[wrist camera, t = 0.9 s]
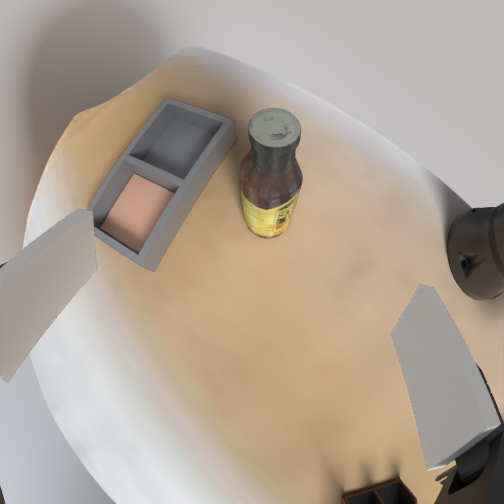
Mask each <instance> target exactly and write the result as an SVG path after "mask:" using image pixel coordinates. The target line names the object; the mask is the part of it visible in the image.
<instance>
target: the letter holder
mask: <svg viewBox="0 0 504 504" xmlns="http://www.w3.org/2000/svg"><path fill="white" fill-rule="evenodd" d="M342 504H417V499H416V497H415V496H414V495H413V494H412V492H411V491H410V490H409V489H408V487H407V486H406V485H405V484H404V483H403V482H402V480H401V479H400V478H398V479H396V480H393V481H390V482H387V483H384V484H381V485H378V486H375V487H372V488H369V489H365V490H362V491H358V492H355V493H351V494H347V495H344V496H342Z"/></svg>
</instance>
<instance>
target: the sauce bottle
mask: <svg viewBox="0 0 504 504" xmlns="http://www.w3.org/2000/svg"><path fill="white" fill-rule="evenodd" d="M248 134H249V135H248V136H249V141H250V143H251V151H250V152H249V153H248V154H247V155H246V156H245V158H244V159H243V161H242V163H241V168H240V188H241V196H242V205H243V213H244V219H245V222H246V224H247V227H248V228H249V230H250V231H251V232H253V233H254V234H255V235H257V236H259V237H261V238H274V237H277V236H279V235H280V234H281V233H283V231H284V230H285V229H286V228H287V227H288V226H289V224H290V221H291V218H292V215H293V212H294V209H295V205H296V202H297V199H298V195H299V192H300V189H301V185H302V180H303V177H302V172H301V170H300V167H299V165H298V163H297V160H296V158H295V150H296V147H297V146H298V144H299V142H300V135H301V126H300V124H299V121H298V120H297V118H296V117H295V116H294V115H292V114H291V113H290V112H288V111H285V110H283V109H278V108H268V109H265V110H261V111H259V112H257V113H256V114H255V115H254V116H253V117H252V118H251V120H250V122H249V125H248Z"/></svg>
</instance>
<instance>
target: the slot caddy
mask: <svg viewBox="0 0 504 504" xmlns="http://www.w3.org/2000/svg"><path fill="white" fill-rule="evenodd" d="M235 141H236V133H235V126H234V120H232V119H229V118H226V117H224V116H221V115H218V114H215V113H212V112H210V111H207V110H204V109H201V108H198V107H195V106H192V105H189V104H186V103H182V102H179V101H176V100H173V99H169V98H166V99H165V100H164V101H163V103H162V104H161V105H160V106H159V107H158V109H157V110H156V111H155V112H154V113H153V115H152V116H151V117H150V118H149V120H148V121H147V122H146V123H145V125H144V126H143V127H142V128H141V130H140V131H139V132H138V134H137V135H136V136H135V138H134V139H133V140H132V142H131V143H130V144H129V146H128V147H127V148H126V150H125V151H124V152H123V154H122V155H121V157H120V158H119V160H118V161H117V162H116V164H115V165H114V167H113V168H112V170H111V171H110V173H109V174H108V176H107V177H106V179H105V180H104V182H103V183H102V185H101V187H100V188H99V190H98V191H97V193H96V194H95V196H94V198H93V199H92V201H91V203H90V204H89V206H88V208H87V209H86V210H88V211H93V224H94V236H95V237H97V238H98V239H100V240H101V241H103V242H104V243H106V244H107V245H109V246H110V247H112V248H113V249H115V250H116V251H118V252H119V253H121V254H122V255H124V256H125V257H127V258H129V259H130V260H132V261H133V262H135V263H136V264H138V265H139V266H141V267H144V268H146V269H148V270H151V271H153V272H155V270H156V268H157V266H158V265H159V263H160V261H161V259H162V258H163V256H164V254H165V252H166V250H167V249H168V247H169V245H170V244H171V242H172V240H173V238H174V237H175V235H176V233H177V232H178V230H179V228H180V227H181V225H182V223H183V222H184V220H185V218H186V217H187V215H188V213H189V212H190V210H191V208H192V207H193V205H194V204H195V202H196V200H197V199H198V197H199V196H200V194H201V192H202V191H203V189H204V188H205V186H206V184H207V183H208V181H209V180H210V178H211V177H212V175H213V174H214V172H215V171H216V169H217V168H218V166H219V165H220V163H221V161H222V160H223V158H224V157H225V156H226V154H227V153H228V151H229V150H230V148H231V147H232V145H233V144H234V142H235Z"/></svg>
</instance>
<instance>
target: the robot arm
mask: <svg viewBox="0 0 504 504" xmlns="http://www.w3.org/2000/svg"><path fill="white" fill-rule="evenodd" d="M448 257H449V263H450V267H451V270H452V273H453V276H454V278H455V280H456V282H457V284H458V285H459V287H460V288H461V289H462V291H463V292H464V293H465V294H466V295H468V296H469V297H471V298H473V299H475V300H488V299H493V298H495V297H497V296H499V295H500V294H501V293H503V292H504V203H503V204H501V205H499V206H497V207H487V208H486V207H485V208H473V209H470V210H468V211H466V212H464V213H462V214H461V215H459V216H458V217H457V218H456V220H455V221H454V222H453V224H452V227H451V229H450V232H449V237H448ZM97 270H98V269H97V260H96V250H95V239H94V224H93V211H88V210H84V209H79V208H78V209H77V210H75V211H74V212H72V213H71V214H69V215H68V216H66V217H65V218H64V219H62V220H61V221H59V222H58V223H57V224H55V225H54V226H52V227H51V228H50V229H48V230H47V231H46V232H44V233H43V234H42V235H40V236H39V237H38V238H36V239H35V240H34V241H33V242H31V243H30V244H29V245H28V246H26V247H25V248H24V249H23V250H21V251H20V252H19V253H18V254H16V255H15V256H14V257H13V258H12V259H10V260H9V261H8V262H6V263H4V264H2V265H0V378H2V379H3V380H5V381H6V382H7V383H9V381H10V380H11V378H12V377H13V375H14V374H15V372H16V371H17V370H18V368H19V367H20V365H21V364H22V362H23V361H24V360H25V358H26V357H27V355H28V354H29V353H30V351H31V350H32V349H33V347H34V346H35V345H36V343H37V342H38V341H39V339H40V338H41V337H42V335H43V334H44V333H45V331H46V330H47V329H48V328H49V326H50V325H51V324H52V322H53V321H54V320H55V319H56V317H57V316H58V315H59V314H60V313H61V311H62V310H63V309H64V308H65V306H66V305H67V304H68V303H69V302H70V300H71V299H72V298H73V297H74V296H75V295H76V293H77V292H78V291H79V290H80V289H81V288H82V286H83V285H84V284H85V283H86V282H87V281H88V280H89V279H90V277H91V276H92V275H93V274H94V273H95V272H96V271H97ZM391 336H392V339H393V342H394V345H395V348H396V352H397V355H398V358H399V361H400V364H401V367H402V371H403V374H404V378H405V381H406V384H407V388H408V392H409V395H410V399H411V403H412V407H413V410H414V414H415V418H416V423H417V427H418V431H419V436H420V440H421V445H422V450H423V455H424V460H425V465H426V471H427V470H432V469H437V468H442V467H444V466H445V465H447V464H449V463H450V462H452V461H453V460H455V461H456V465H455V466H453V467H452V468H450V469H449V470H447V471H445V472H444V473H442V474H440V475H439V476H438V477H437V478H436V479H435V481H439V480H440V479H442V478H444V477H446V476H447V478H446V479H444V480H443V481H441V482H440V484H442V485H443V487H442V489H441V491H440V493H439V495H438V497H437V499H436V501H435V503H434V504H504V423H503V420H502V417H501V415H500V412H499V410H498V407H497V405H496V402H495V400H494V397H493V395H492V393H490V392H491V390H490V388H489V385H488V384H487V381H486V379H485V376H484V374H483V372H482V370H481V369H480V368H479V366H478V365H477V364H476V363H475V361H474V359H473V357H472V355H471V353H470V351H469V349H468V347H467V345H466V343H465V341H464V339H463V337H462V335H461V334H460V332H459V330H458V328H457V326H456V324H455V323H454V321H453V319H452V317H451V315H450V314H449V312H448V310H447V309H446V307H445V305H444V303H443V302H442V300H441V298H440V297H439V295H438V293H437V292H436V290H435V289H434V287H431V286H427V285H423V284H419V286H418V288H417V290H416V292H415V293H414V295H413V297H412V299H411V301H410V302H409V304H408V306H407V307H406V309H405V311H404V313H403V314H402V316H401V318H400V319H399V321H398V323H397V324H396V326H395V327H394V329H393V331H392V332H391ZM0 504H5V501H4V497H3V494H2V490H1V487H0Z"/></svg>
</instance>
